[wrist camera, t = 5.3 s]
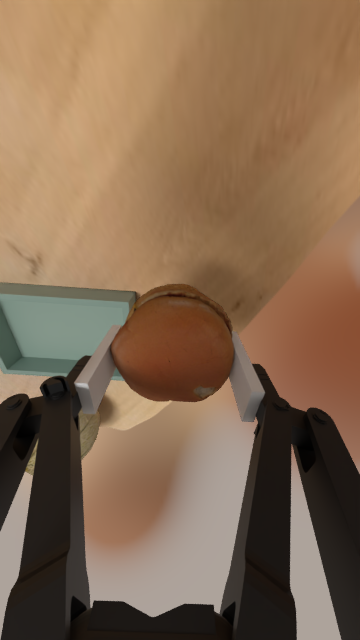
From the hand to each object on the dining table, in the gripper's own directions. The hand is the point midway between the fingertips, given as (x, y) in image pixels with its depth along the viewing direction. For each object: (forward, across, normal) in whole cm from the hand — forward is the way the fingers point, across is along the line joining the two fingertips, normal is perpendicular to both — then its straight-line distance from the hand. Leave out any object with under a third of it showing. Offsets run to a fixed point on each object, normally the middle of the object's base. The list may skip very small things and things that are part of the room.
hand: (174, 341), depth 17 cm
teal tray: (+16, -19, -9) cm, 26 cm away
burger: (+1, 0, 0) cm, 1 cm away
